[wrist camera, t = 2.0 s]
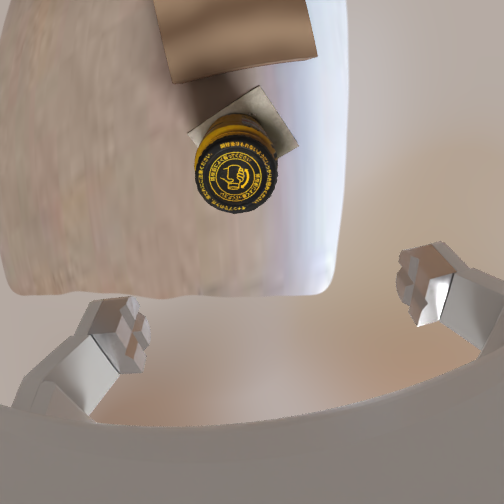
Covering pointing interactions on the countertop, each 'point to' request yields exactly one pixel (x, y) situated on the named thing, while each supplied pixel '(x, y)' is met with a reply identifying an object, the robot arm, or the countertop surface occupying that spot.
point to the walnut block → (232, 35)
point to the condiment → (240, 153)
